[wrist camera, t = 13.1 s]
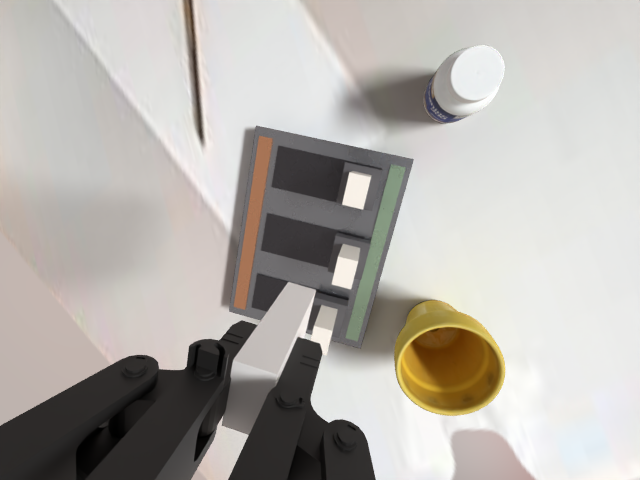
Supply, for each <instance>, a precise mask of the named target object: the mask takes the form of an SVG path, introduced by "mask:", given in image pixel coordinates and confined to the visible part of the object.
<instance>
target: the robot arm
mask: <svg viewBox="0 0 640 480" xmlns="http://www.w3.org/2000/svg"><path fill="white" fill-rule="evenodd" d="M315 292H316V290H315V289H311V288H308V287H304V286H301V285H298V284H294V283H291V282H288V283H287V285H286V286H285V287H284V289H283V290H282V292H281V293H280V294H279V296H278V297H277V299H276V300H275V302H274V303H273V304H272V306H271V307H270V309H269V310H268V311H267V313H266V314H265V316H264V317H263V319H262V320H261V321H260V323H259V324H258V325H255V324H252V323H249V322H245V321H240V322H238V323H236V324H234V325H232V326H231V327H230V329H229V330H228V331H227V332H226V334H224V336H223V337H222V338H221V339H220V340H219V341H218V340H213V339H204V340H199V341H196V342H194V343H193V344H191V345H190V346H189V352H188V360H187V367H186V368H185V369H184V370H161V369H159V366H158V362H157V361H156V360H155V359H154V358H152V357H150V356H147V355H134V356H129V357H126V358H124V359H121V360H119V361H118V362H116V363H114V364H112V365H110V366H108V367H107V368H105V369H103V370H101V371H99V372H98V373H96V374H94V375H92V376H90V377H88V378H87V379H85V380H83V381H81V382H79V383H77V384H76V385H74V386H72V387H70V388H68V389H67V390H65V391H63V392H61V393H59V394H57V395H56V396H54V397H52V398H50V399H48V400H46V401H45V402H43V403H41V404H40V405H37V406H36V407H34V408H32V409H30V410H28V411H26V412H25V413H23V414H21V415H19V416H17V417H15V418H14V419H12V420H10V421H8V422H6V423H4V424H3V425H1V426H0V480H191V478H192V477H193V475H194V473H195V471H196V470H197V468H198V466H199V464H200V463H201V461H202V459H203V457H204V456H205V454H206V452H207V450H208V449H209V447H210V445H211V443H212V442H213V440H214V437H215V434H216V429H217V425H218V423H219V421H220V420H221V418H222V416H223V421H222V426H225V427H228V428H231V429H234V430H237V431H240V432H242V433H245V434H248V435H249V436H248V438H247V440H246V442H245V445H244V447H243V449H242V451H241V453H240V455H239V458H238V460H237V462H236V464H235V466H234V468H233V471H232V473H231V475H230V477H229V479H228V480H376V479H375V475H374V470H373V465H372V461H371V456H370V452H369V447H368V443H367V440H366V437H365V435H364V433H363V432H362V431H361V430H360V428H359V427H358V426H356V425H355V424H353V423H352V422H349V421H346V420H334V421H332V422H330V423H328V422H327V421H325V420H324V419H322V418H321V417H320V416H319V415H317V413H316V412H315V411H314V409H313V407H312V405H311V401H310V398H311V393H312V390H313V386H314V382H315V379H316V375H317V371H318V368H319V364H320V360H321V357H322V353H323V352H322V349H321V345H320V343H316V342H313V341H310V340H307V339H304V336H305V333H306V329H307V325H308V321H309V317H310V313H311V309H312V305H313V301H314V297H315Z"/></svg>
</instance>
